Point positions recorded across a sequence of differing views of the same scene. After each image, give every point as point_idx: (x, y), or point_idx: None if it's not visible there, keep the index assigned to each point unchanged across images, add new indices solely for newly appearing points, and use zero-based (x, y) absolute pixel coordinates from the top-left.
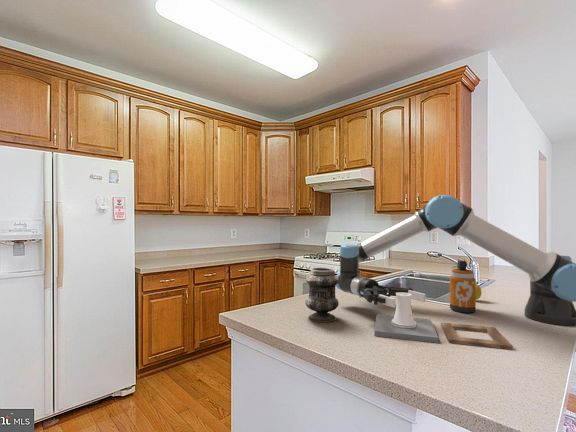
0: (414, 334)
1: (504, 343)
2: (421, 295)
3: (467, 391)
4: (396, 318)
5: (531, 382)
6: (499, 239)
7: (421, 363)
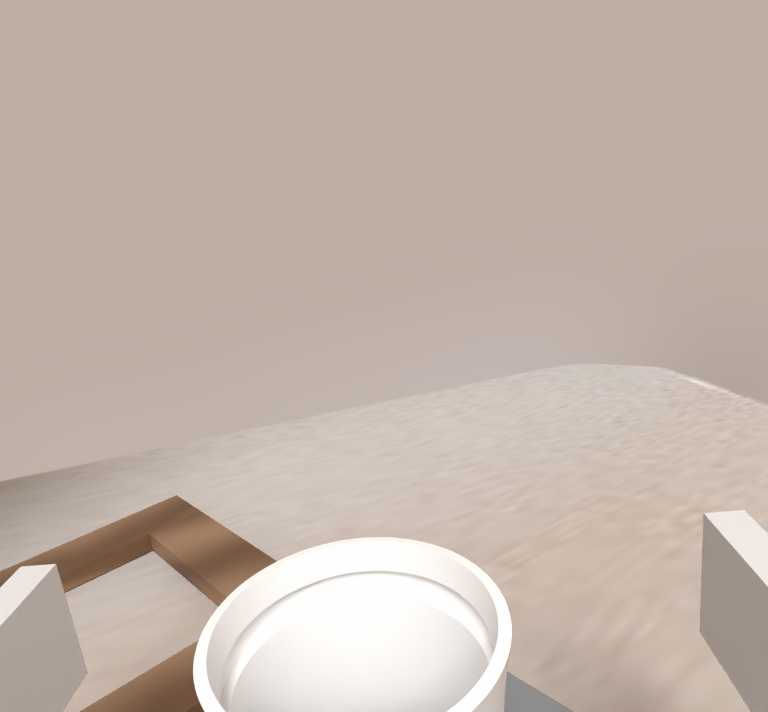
0: (540, 708)
1: (164, 514)
2: (35, 620)
3: (660, 418)
4: None
5: (426, 416)
6: None
7: None
